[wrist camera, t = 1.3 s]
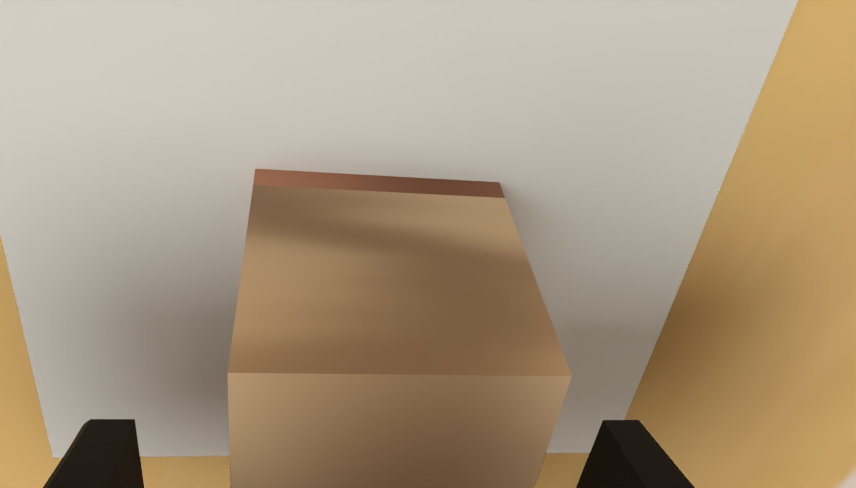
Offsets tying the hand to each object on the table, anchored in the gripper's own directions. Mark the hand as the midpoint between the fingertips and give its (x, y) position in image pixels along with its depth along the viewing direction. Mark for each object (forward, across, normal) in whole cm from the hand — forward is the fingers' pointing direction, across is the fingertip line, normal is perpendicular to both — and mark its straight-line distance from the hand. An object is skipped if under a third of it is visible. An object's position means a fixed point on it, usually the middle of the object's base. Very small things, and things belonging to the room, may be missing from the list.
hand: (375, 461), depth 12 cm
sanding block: (+3, 0, 0) cm, 3 cm away
